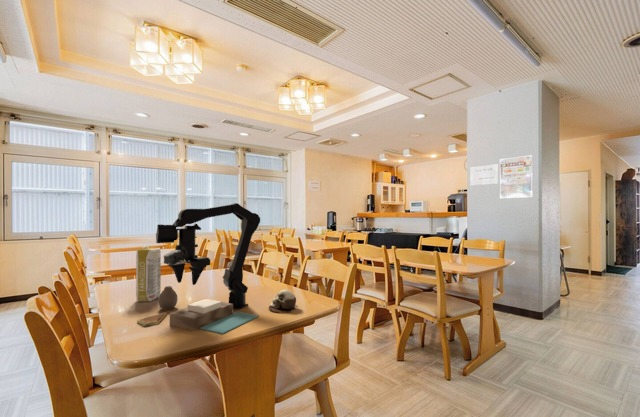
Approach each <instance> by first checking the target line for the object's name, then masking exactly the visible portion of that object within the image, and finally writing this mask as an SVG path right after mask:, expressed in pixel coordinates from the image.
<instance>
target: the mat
mask: <svg viewBox="0 0 640 417" xmlns="http://www.w3.org/2000/svg"><path fill="white" fill-rule="evenodd" d="M257 318H259V315H256V314H252V313H247V312H240V311H236V312H233V314H231V315H229V316H227V317H224V318H222V319H220V320H217V321H215V322H213V323H210V324H208V325H206V326H203V327H201V328H200V329H199V330H203V331H207V332H211V333H216V334H219V335H224V334H226V333H229V332H230V331H232V330H235V329H236V328H238V327H240V326H243V325H245V324H246V323H248V322H251V321H252V320H255V319H257Z"/></svg>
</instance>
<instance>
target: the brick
mask: <svg viewBox="0 0 640 417" xmlns="http://www.w3.org/2000/svg"><path fill="white" fill-rule="evenodd" d="M231 314H234V309H233V304H232V303H229V302H226V301H221V307H220V308H217V309H215V310H212V311H210V312H207V313H199V312H194V311H189V310H188V306H187V307H184V308H182V309H179V310H175V311H172V312H169V326H173V327H177V328H181V329H184V330H189V331H192V332H195V331H198V330H201V329H200V328H201V327H203V326H206V325H208V324H210V323H213V322H215V321H217V320H220V319H222V318H224V317H227V316H229V315H231Z"/></svg>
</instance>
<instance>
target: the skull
mask: <svg viewBox="0 0 640 417" xmlns="http://www.w3.org/2000/svg"><path fill="white" fill-rule="evenodd" d="M296 302H297V297H296V295H295V293H293V292H292V291H291V290H290V289H282V290H281V291H280V290H279V293H277V294H276V295H275V296H274V298H273V299H272V302H271V303H270V305H269V306H268V309H269V310H270V311H271V312H274V313H279V314H289V313H292V311H293V310H295V309H298V308H299V305H297V303H296Z"/></svg>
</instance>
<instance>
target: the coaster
mask: <svg viewBox="0 0 640 417" xmlns="http://www.w3.org/2000/svg"><path fill="white" fill-rule="evenodd" d="M221 302H222V301H219V300H216V299H215V300H214V299H208V298H204V299H202V300H199V301H195V302H192V303H189V304H187V307H188V310H189V311H194V312H199V313H207V312H210V311H212V310H215V309H217V308H220V307H221Z"/></svg>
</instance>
